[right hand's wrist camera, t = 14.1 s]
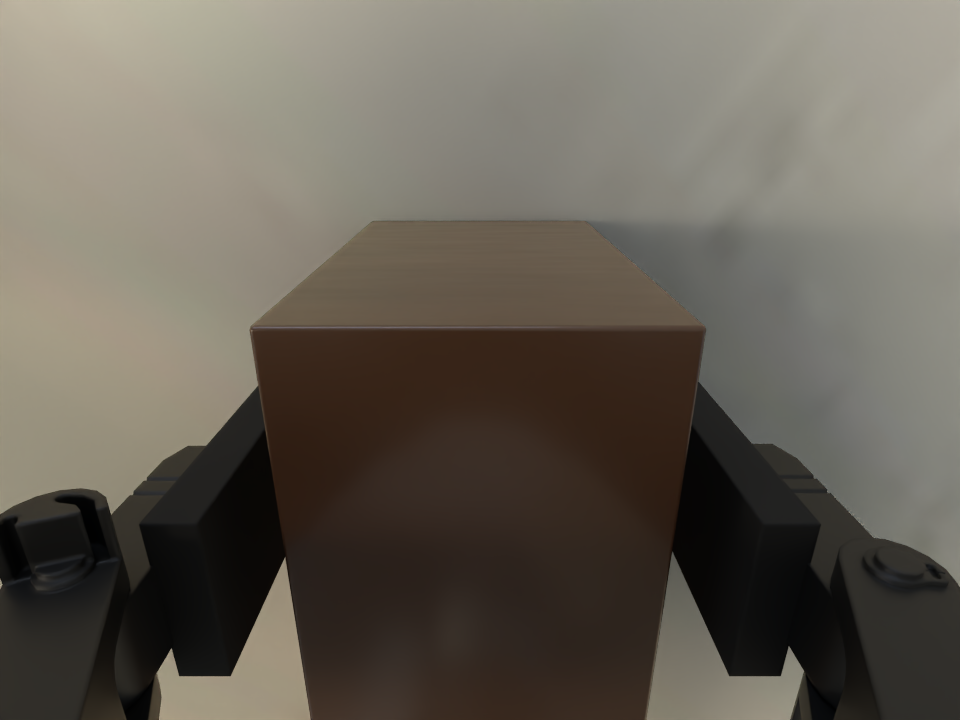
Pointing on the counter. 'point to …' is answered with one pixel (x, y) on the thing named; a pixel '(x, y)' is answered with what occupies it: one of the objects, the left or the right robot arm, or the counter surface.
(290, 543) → the plank
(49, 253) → the counter surface
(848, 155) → the counter surface
